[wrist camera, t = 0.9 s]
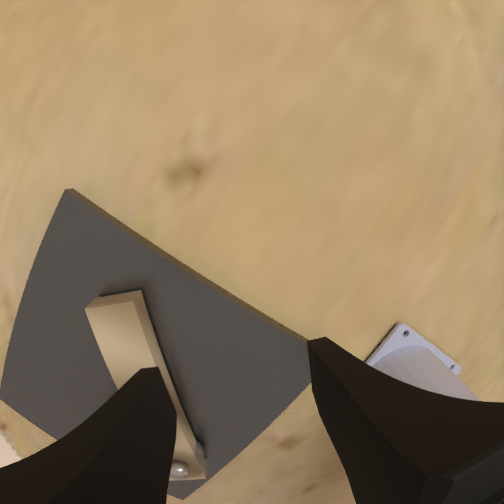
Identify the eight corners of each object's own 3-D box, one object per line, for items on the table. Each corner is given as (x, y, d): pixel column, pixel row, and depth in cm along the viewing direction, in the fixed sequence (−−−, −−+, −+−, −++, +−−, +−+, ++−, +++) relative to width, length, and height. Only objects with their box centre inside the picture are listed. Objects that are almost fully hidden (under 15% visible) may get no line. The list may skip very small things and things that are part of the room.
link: (210, 463, 21) (210, 478, 19) (167, 466, 21) (164, 480, 19) (145, 289, 17) (138, 300, 16) (90, 298, 17) (80, 309, 15)
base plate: (327, 351, 20) (354, 402, 15) (183, 492, 23) (180, 537, 18) (72, 188, 17) (21, 197, 11) (3, 391, 20) (-25, 427, 14)
